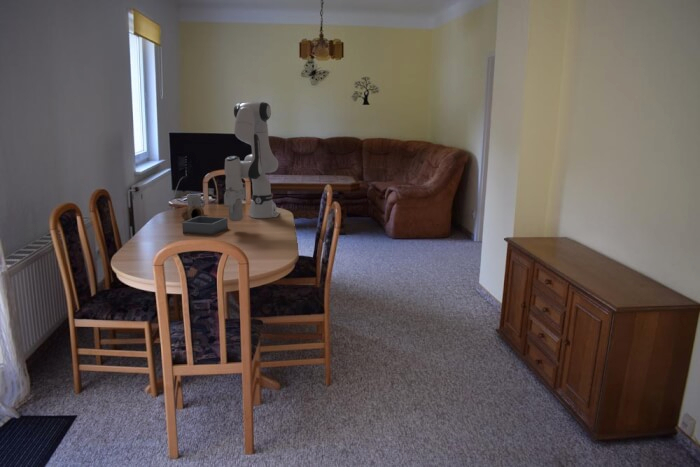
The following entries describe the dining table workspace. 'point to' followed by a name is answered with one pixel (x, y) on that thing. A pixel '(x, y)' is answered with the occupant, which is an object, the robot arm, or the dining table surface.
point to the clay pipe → (192, 212)
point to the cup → (195, 200)
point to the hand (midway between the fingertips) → (235, 210)
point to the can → (236, 211)
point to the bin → (205, 225)
